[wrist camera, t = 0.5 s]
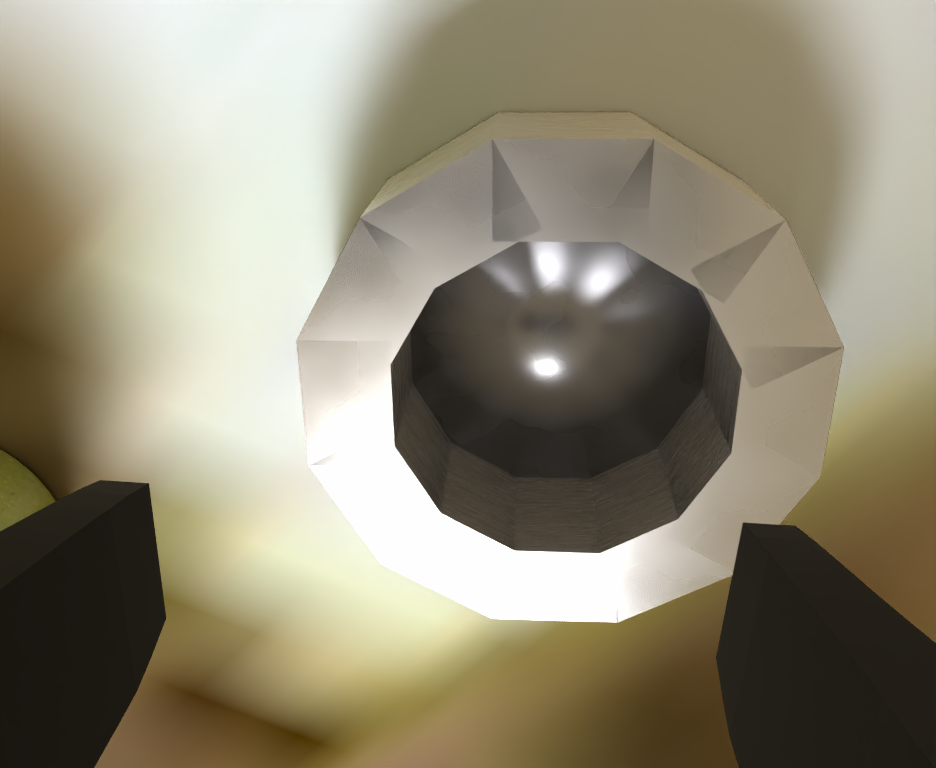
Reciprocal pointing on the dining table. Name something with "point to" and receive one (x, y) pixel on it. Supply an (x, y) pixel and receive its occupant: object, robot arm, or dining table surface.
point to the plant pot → (19, 492)
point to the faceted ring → (567, 369)
